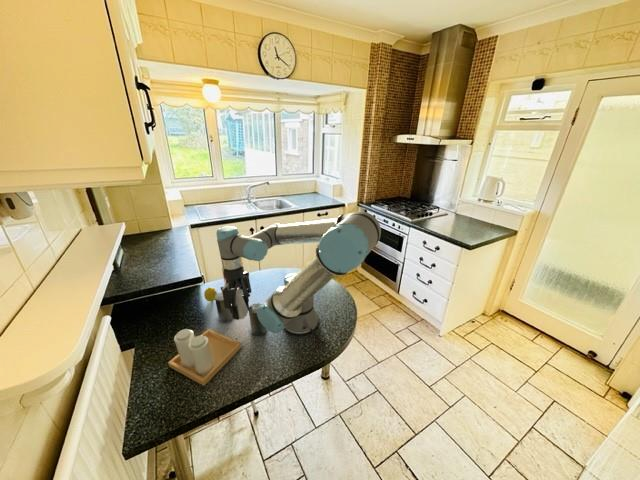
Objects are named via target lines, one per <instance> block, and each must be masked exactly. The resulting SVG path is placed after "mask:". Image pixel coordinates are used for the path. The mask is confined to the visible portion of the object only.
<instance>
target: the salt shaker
mask: <svg viewBox="0 0 640 480" xmlns="http://www.w3.org/2000/svg"><path fill="white" fill-rule="evenodd" d="M242 296H244V295H243V290H242V289H240V288H237V291H236V300H235V306H237V310H238V316H239V320H242V319H245V318H246V317H247V316H248V314H249V311H248V308H247V306H246V304H245V301H244V299H243V297H242Z"/></svg>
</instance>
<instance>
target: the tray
mask: <svg viewBox="0 0 640 480" xmlns="http://www.w3.org/2000/svg"><path fill="white" fill-rule="evenodd" d="M200 336H205V337H207V338H208V341H209V345H210V349H211V353H212V358H213V362H214V368H213V369H212V370H211V371H210V372H209V373H208V374H207V375H204V376H199V375H197V374H196V371H195V367H194V366H193V367H191V368H184V367H183V366H182V363H181V360H180V357H179V354H177V355H174V357H172V359H170V360H169V361H167V364H168V366H169V368H171V369H172V370H174V371H176V372H178V373H180V374H182V375H183V376H184V377H187V378H189V379H191V380H192V381H194V382H195V383H198V384H200V385H201V386H203V387H205V386H206V385H207V384H208V383H209V382H210V381H211V380H212V378H213V377H215V375H216V374H218V372H219V371H220V370H221V369H222V368H223V367H224V366H225V365H226V364H227V363H228V362H229V360H231V359H232V358H233V357H234V355H236V354H237V352H238V351H240V349H241V348H242V342H240V341H238V340H236V339H233V338H230V337H228V336H226V335H224V334H221V333H219V332H217V331H215V330H212V329H209V328H207V330H205V331H204V332H203V333H202V334H201V335H200Z"/></svg>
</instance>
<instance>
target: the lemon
mask: <svg viewBox="0 0 640 480" xmlns="http://www.w3.org/2000/svg"><path fill="white" fill-rule="evenodd" d="M217 294H218V292H217V290H216V288H214V287H211V286H210V287H207V288H206V289H205V290H204V293H203V295H204V299H205V300H206V301H207V302H210V303H212V302H215V296H216V295H217Z"/></svg>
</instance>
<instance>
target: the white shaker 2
mask: <svg viewBox="0 0 640 480" xmlns="http://www.w3.org/2000/svg"><path fill="white" fill-rule="evenodd" d="M189 350H190V353H191V357H192V360H193V364H194V367H195V371H196V374H197V375H199V376H204V375H207V374H208V373H209V372H210V371H211V370H212V369H213V368H214V362H213V358H212V353H211V349H210V345H209V341H208V338H207V337H205V336H201V335H196V336H195V338H193V339H192V340H191V342H190V343H189Z"/></svg>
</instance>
